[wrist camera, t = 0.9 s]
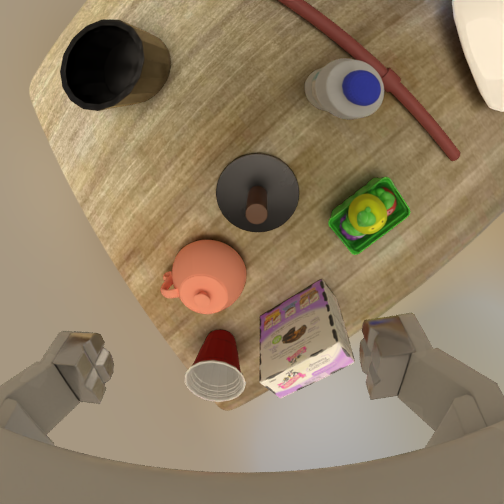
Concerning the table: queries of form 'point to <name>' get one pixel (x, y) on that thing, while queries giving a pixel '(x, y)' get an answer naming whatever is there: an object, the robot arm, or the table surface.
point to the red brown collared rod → (387, 74)
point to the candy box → (303, 341)
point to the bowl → (483, 45)
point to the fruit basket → (368, 214)
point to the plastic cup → (216, 369)
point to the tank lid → (257, 192)
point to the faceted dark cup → (114, 66)
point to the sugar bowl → (206, 276)
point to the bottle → (345, 89)
